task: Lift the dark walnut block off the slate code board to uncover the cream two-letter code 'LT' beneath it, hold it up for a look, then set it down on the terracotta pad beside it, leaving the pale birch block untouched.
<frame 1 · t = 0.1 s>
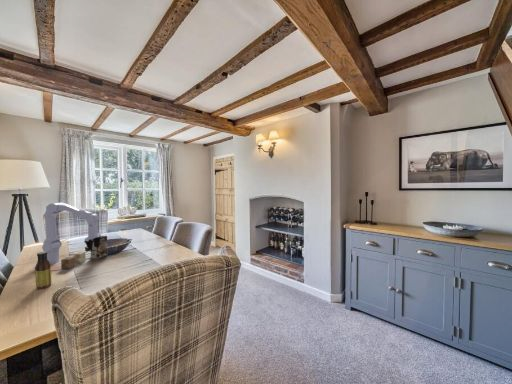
hand: (93, 248, 159), 10 cm above the table, fingers open, 6 cm apart
coffee box: (99, 257, 170), on the table, touching gripper
terracotta pad: (56, 268, 145), resting on code board
walnut block: (68, 268, 145), point 1 cm above the table, touching code board
code board: (68, 266, 151), on the table
sauce bottle: (43, 287, 121), on the table
birch block: (79, 262, 156), point 1 cm above the table, touching code board
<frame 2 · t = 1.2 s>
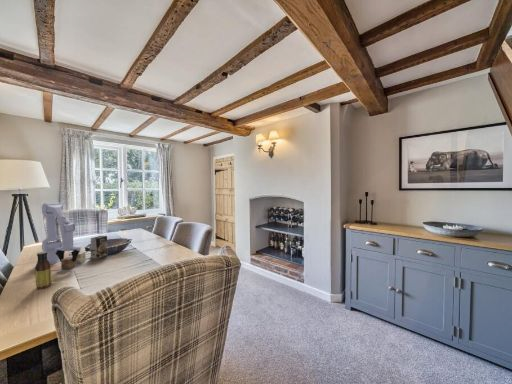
hand: (68, 261, 145), 5 cm above the table, fingers open, 7 cm apart
coffee box: (99, 257, 170), on the table
everything else where it was.
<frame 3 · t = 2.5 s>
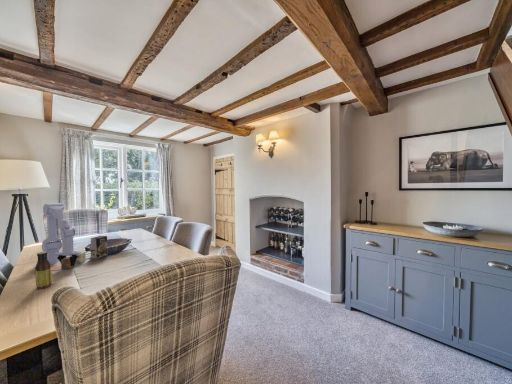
hand: (68, 266, 145), 2 cm above the table, fingers closed on walnut block, 5 cm apart
walnut block: (68, 268, 145), point 1 cm above the table, touching code board, gripper
everything else where it was.
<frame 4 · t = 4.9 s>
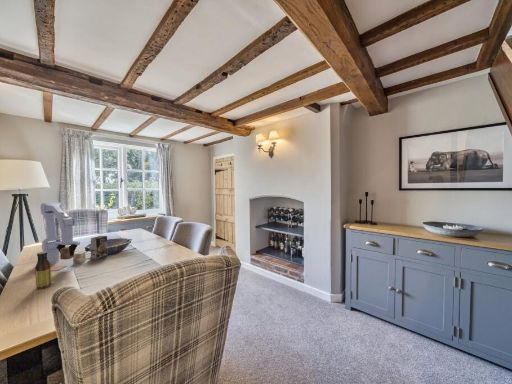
hand: (67, 255, 145), 9 cm above the table, fingers closed on walnut block, 5 cm apart
walnut block: (67, 258, 145), point 8 cm above the table, touching gripper
everything else where it was.
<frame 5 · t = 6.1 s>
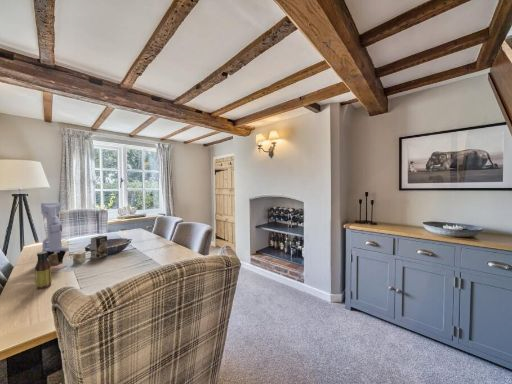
hand: (55, 262, 144), 5 cm above the table, fingers closed on walnut block, 5 cm apart
walnut block: (55, 264, 144), point 3 cm above the table, touching gripper
everything else where it was.
when the fingers open (4 cm above the table, at t = 7.3 s): walnut block drops 1 cm, resting on terracotta pad.
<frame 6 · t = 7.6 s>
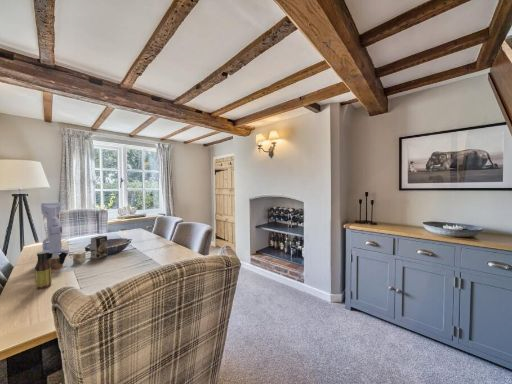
hand: (55, 263, 144), 4 cm above the table, fingers open, 7 cm apart
walnut block: (55, 268, 144), point 1 cm above the table, touching terracotta pad
everything else where it was.
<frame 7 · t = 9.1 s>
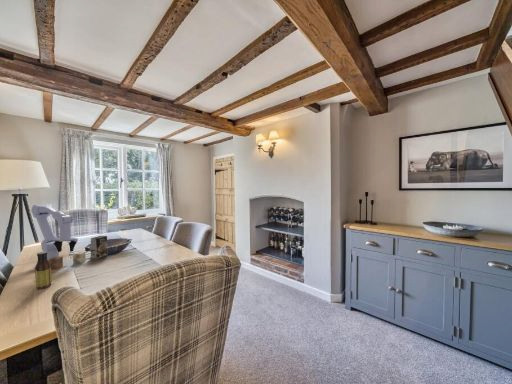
hand: (65, 251, 152), 10 cm above the table, fingers open, 7 cm apart
nothing on the table moved.
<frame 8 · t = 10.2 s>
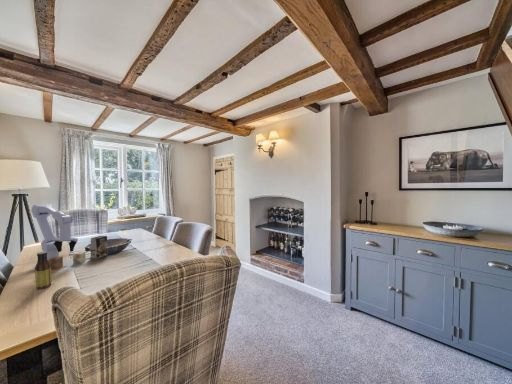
hand: (65, 251, 152), 10 cm above the table, fingers open, 7 cm apart
nothing on the table moved.
at the end: walnut block 0.1 cm off-centre on the terracotta pad, point 0.5 cm above the terracotta pad's base; walnut block tilted 0°; birch block moved 0.0 cm from its start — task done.
